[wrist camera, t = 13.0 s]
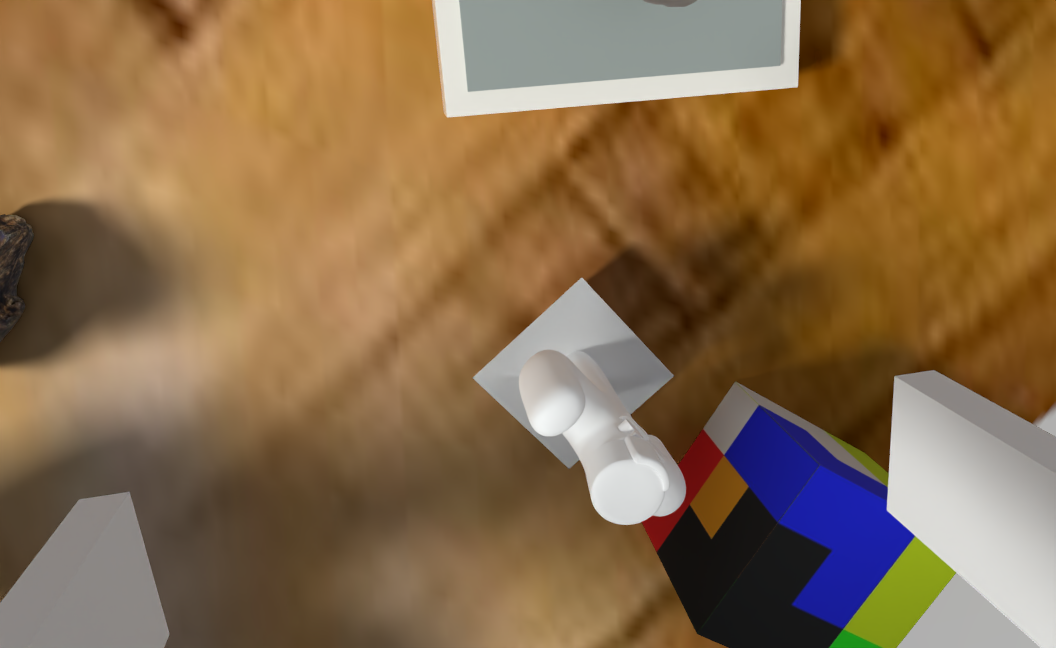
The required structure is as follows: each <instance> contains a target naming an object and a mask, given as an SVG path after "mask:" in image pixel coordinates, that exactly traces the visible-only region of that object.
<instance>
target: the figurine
mask: <svg viewBox="0 0 1056 648" xmlns="http://www.w3.org/2000/svg"><path fill="white" fill-rule="evenodd" d="M672 377H674V375H673V374H672V373H671V372H670V371H669V370H668V369H667V368H666V367H665V366H664V365H663V363H662V362H661V361H660V360H659V359H658V358H657V357H656V356H655V355H654V354H653V353H652V352H651V351H650V350H649V349H648V347H647V346H646V345H645V344H644V343H643V342H642V341H641V340H640V339H639V338H638V337H637V336H636V335H635V334H634V333H633V331H632V330H631V329H630V328H629V327H628V326H627V325H626V324H625V323H624V322H623V321H622V320H621V319H620V318H619V317H618V315H617V314H616V313H615V312H614V311H613V310H612V309H611V308H610V307H609V306H608V305H607V304H606V303H605V302H604V301H603V299H602V298H601V297H600V296H599V295H598V294H597V293H596V292H595V291H594V290H593V289H592V288H591V287H590V286H589V285H588V283H587V282H586V281H585V280H584V279H583V278H580V279H579V280H578V281H577V282H576V283H575V284H574V285H573V286H572V287H571V288H570V289H569V290H567V291H566V292H565V293H564V294H563V295H562V296H561V297H560V298H559V299H558V300H557V301H555V302H554V303H553V304H552V305H551V306H550V307H549V308H548V309H547V310H546V311H545V312H544V313H542V314H541V315H540V316H539V317H538V318H537V319H536V320H535V321H534V322H533V323H532V324H530V325H529V326H528V327H527V328H526V329H525V330H524V331H523V332H522V333H521V334H520V335H519V336H517V337H516V338H515V339H514V340H513V341H512V342H511V343H510V344H509V345H508V346H507V347H505V348H504V349H503V350H502V351H501V352H500V353H499V354H498V355H497V356H496V357H495V358H494V359H492V360H491V361H490V362H489V363H488V364H487V365H486V366H485V367H484V368H483V369H482V370H481V371H479V372H478V373H477V374H476V375H475V376H474V377H473V379H474V380H475V381H476V382H477V383H478V384H479V385H480V386H482V387H483V388H484V389H485V390H486V391H487V392H488V393H489V394H490V395H491V396H492V397H493V398H494V399H495V400H496V401H497V402H499V403H500V404H501V405H502V406H503V407H504V408H505V409H506V410H507V411H508V412H509V413H510V414H511V415H512V416H513V417H514V418H516V419H517V420H518V421H519V422H520V423H521V424H522V425H523V426H524V427H525V428H526V429H527V430H528V431H529V432H530V433H531V434H533V435H534V436H535V437H536V438H537V439H538V440H539V441H540V442H541V443H542V444H543V445H544V446H545V447H546V448H547V449H548V450H550V451H551V452H552V453H553V454H554V455H555V456H556V457H557V458H558V459H559V460H560V461H561V462H562V463H563V464H564V465H565V466H567V467H568V468H569V469H570V468H571V467H572V466H573V465H574V464H575V463H576V462H577V461H579V460H580V461H581V463H582V465H583V468H584V470H585V473H586V478H587V483H588V487H589V492H590V496H591V501H592V504H593V506H594V508H595V510H596V511H597V512H598V513H599V514H600V515H601V516H602V517H603V518H604V519H606V520H608V521H610V522H612V523H615V524H621V525H631V524H636V523H640V522H642V521H645V520H647V519H648V518H650V517H651V516H652V515H653V516H659V517H661V516H666V515H669V514H671V513H673V512H674V511H676V510H677V509H678V508H679V507H680V506H681V504H682V503H683V501H684V498H685V495H686V484H685V480H684V477H683V474H682V472H681V470H680V469H679V467H678V465H677V464H676V462H675V461H674V460H673V458H672V457H671V455H670V454H669V452H668V451H667V449H666V448H665V446H664V445H663V443H662V442H661V441H660V439H658V438H657V437H656V436H653V435H648V434H647V433H646V431H645V430H644V429H643V428H641V427H640V426H639V425H638V424H637V423H636V422H635V421H634V419H633V418H632V417H631V414H632V413H633V412H634V411H635V410H636V409H637V408H639V407H640V406H641V405H642V404H643V403H644V402H645V401H646V400H648V399H649V398H650V397H651V396H652V395H653V394H654V393H655V392H657V391H658V390H659V389H660V388H661V387H662V386H663V385H665V384H666V383H667V382H668V381H669V380H670V379H671V378H672Z"/></svg>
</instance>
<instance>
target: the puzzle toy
mask: <svg viewBox="0 0 1056 648" xmlns="http://www.w3.org/2000/svg"><path fill="white" fill-rule="evenodd" d="M678 467H679V469H680V470H681V472H682V474H683V477H684V480H685V484H686V495H685V498H684V501H683V503H682V504H681V506H680V507H679V508H678V509H677V510H676V511H674V512H673V513H671V514H669V515H666V516H661V517H659V516H653V515H652V516H651V517H650V518H648V519H647V520H645V521H642V524H643V526H644V528H645V530H646V532H647V534H648V536H649V538H650V540H651V542H652V544H653V546H654V548H655V550H656V552H657V554H658V556H659V558H660V560H661V562H662V564H663V566H664V568H665V570H666V572H667V574H668V576H669V578H670V580H671V582H672V584H673V586H674V588H675V590H676V592H677V594H678V596H679V598H680V600H681V602H682V604H683V606H684V608H685V610H686V612H687V614H688V616H689V618H690V620H691V622H692V624H693V626H694V628H695V630H696V632H697V634H699V635H701V636H703V637H705V638H708V639H710V640H712V641H715V642H717V643H719V644H722V645H724V646H726V647H728V648H897V646H898V645H899V644H900V643H901V641H902V640H903V639H904V638H905V636H906V635H907V634H908V633H909V631H910V630H911V629H912V628H913V626H914V625H915V624H916V623H917V621H918V620H919V619H920V618H921V616H922V615H923V614H924V613H925V611H926V610H927V609H928V607H929V606H930V605H931V604H932V602H933V601H934V600H935V599H936V597H937V596H938V595H939V593H940V592H941V591H942V590H943V589H944V587H945V586H946V585H947V584H948V582H949V581H950V580H951V579H952V577H953V576H954V575H955V574H956V572H955V571H954V570H953V569H952V568H951V567H950V566H949V565H947V564H946V563H945V562H944V561H943V560H942V559H941V558H940V557H938V556H937V555H936V554H935V553H934V552H933V551H932V550H931V549H929V548H928V547H927V546H926V545H925V544H924V543H923V542H922V541H920V540H919V539H918V538H917V537H916V536H915V535H914V534H913V533H911V532H910V531H909V530H908V529H907V528H906V527H905V526H904V525H902V524H901V523H900V522H899V521H898V520H897V519H896V518H895V517H894V516H892V515H891V514H890V513H889V512H888V511H887V496H888V479H889V473H888V472H886V471H885V470H884V469H883V468H882V467H881V466H879V465H878V464H877V463H876V462H875V461H874V460H872V459H871V458H870V457H869V456H868V455H867V454H865V453H864V452H862V451H860V450H859V449H857V448H855V447H853V446H851V445H849V444H848V443H846V442H844V441H842V440H840V439H839V438H837V437H835V436H833V435H831V434H830V433H828V432H826V431H824V430H822V429H821V428H819V427H817V426H815V425H813V424H812V423H810V422H808V421H806V420H804V419H802V418H801V417H799V416H797V415H795V414H793V413H792V412H790V411H788V410H786V409H784V408H783V407H781V406H779V405H777V404H775V403H774V402H772V401H770V400H768V399H766V398H765V397H763V396H761V395H759V394H757V393H756V392H754V391H752V390H750V389H748V388H746V387H745V386H743V385H741V384H739V383H737V382H736V381H735V382H734V384H733V385H732V387H731V388H730V390H729V391H728V393H727V394H726V396H725V397H724V399H723V400H722V402H721V403H720V404H719V406H718V407H717V409H716V410H715V412H714V413H713V415H712V416H711V418H710V419H709V421H708V422H707V424H706V425H705V427H704V428H703V429H702V431H701V432H700V434H699V435H698V437H697V438H696V440H695V441H694V443H693V444H692V446H691V447H690V449H689V450H688V451H687V453H686V454H685V456H684V457H683V459H682V460H681V462H680V463H679V465H678Z"/></svg>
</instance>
